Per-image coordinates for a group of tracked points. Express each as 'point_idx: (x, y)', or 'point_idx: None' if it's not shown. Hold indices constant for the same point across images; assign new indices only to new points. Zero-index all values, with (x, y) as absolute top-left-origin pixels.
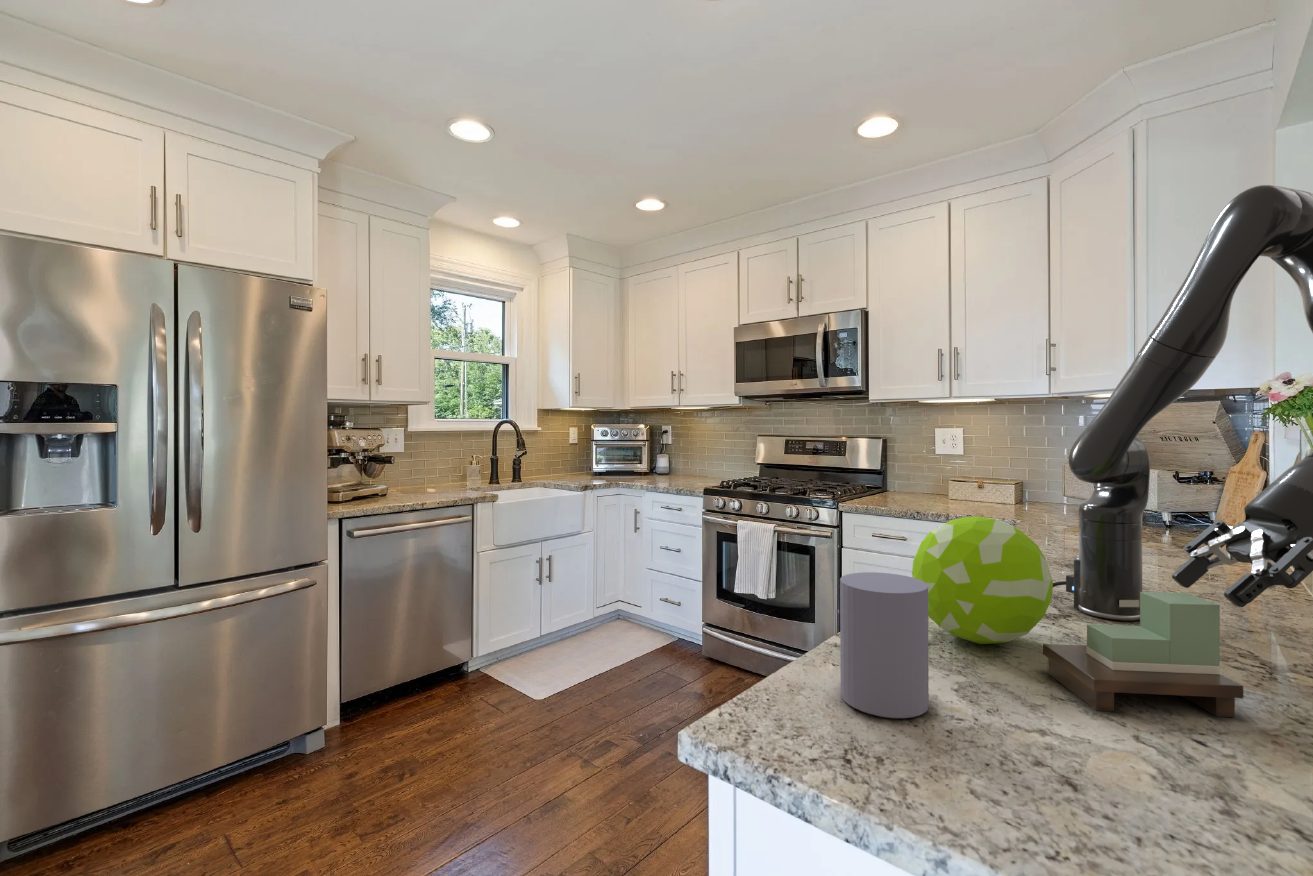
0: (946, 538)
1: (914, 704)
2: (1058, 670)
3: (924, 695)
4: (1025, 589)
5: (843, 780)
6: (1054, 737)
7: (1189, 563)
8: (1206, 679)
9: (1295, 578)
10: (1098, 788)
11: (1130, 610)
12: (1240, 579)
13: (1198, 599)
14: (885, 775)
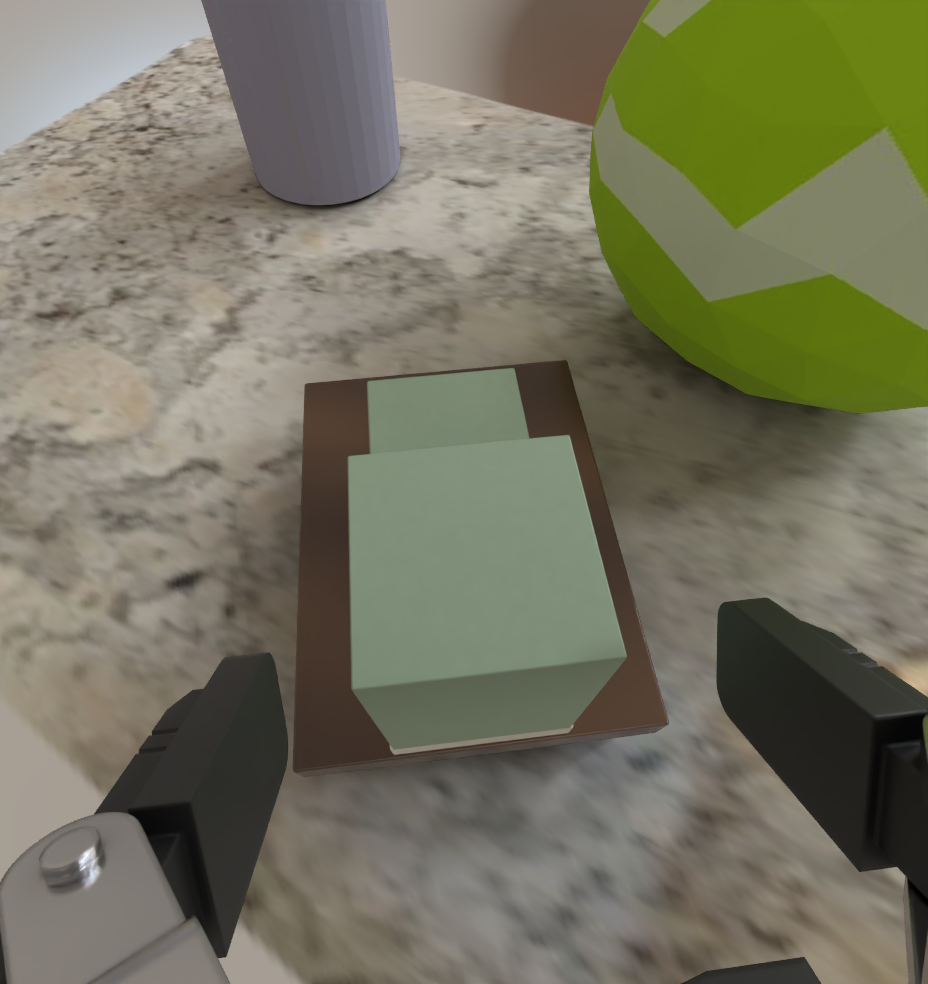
0: None
1: (255, 165)
2: None
3: (269, 167)
4: (647, 196)
5: (97, 124)
6: (207, 339)
7: (819, 670)
8: (337, 672)
9: None
10: (38, 342)
11: None
12: (206, 737)
13: (463, 637)
14: (104, 154)
